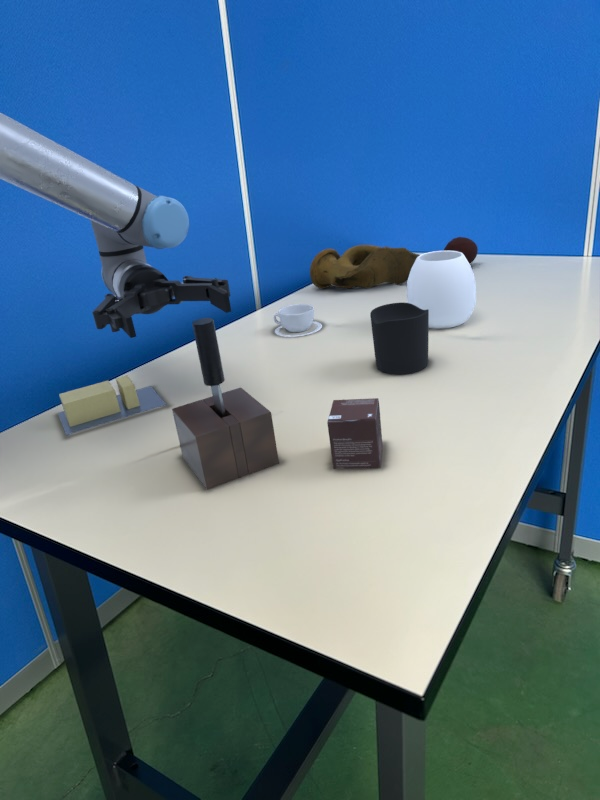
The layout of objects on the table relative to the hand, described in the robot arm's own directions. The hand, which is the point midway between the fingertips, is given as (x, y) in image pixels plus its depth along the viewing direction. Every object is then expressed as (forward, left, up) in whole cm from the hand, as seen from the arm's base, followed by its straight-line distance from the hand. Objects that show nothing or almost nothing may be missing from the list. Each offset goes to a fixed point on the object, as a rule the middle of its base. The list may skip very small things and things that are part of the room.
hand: (180, 314), depth 84 cm
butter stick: (-13, +18, -18) cm, 28 cm away
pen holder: (+36, +1, -19) cm, 41 cm away
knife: (0, -10, -19) cm, 21 cm away
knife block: (0, -10, -19) cm, 21 cm away
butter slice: (-7, +18, -18) cm, 26 cm away
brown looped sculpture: (+60, +48, -19) cm, 79 cm away
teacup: (+32, +32, -19) cm, 49 cm away
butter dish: (-10, +18, -19) cm, 28 cm away
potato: (+86, +45, -19) cm, 99 cm away
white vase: (+55, +14, -19) cm, 60 cm away
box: (+14, -20, -19) cm, 31 cm away
